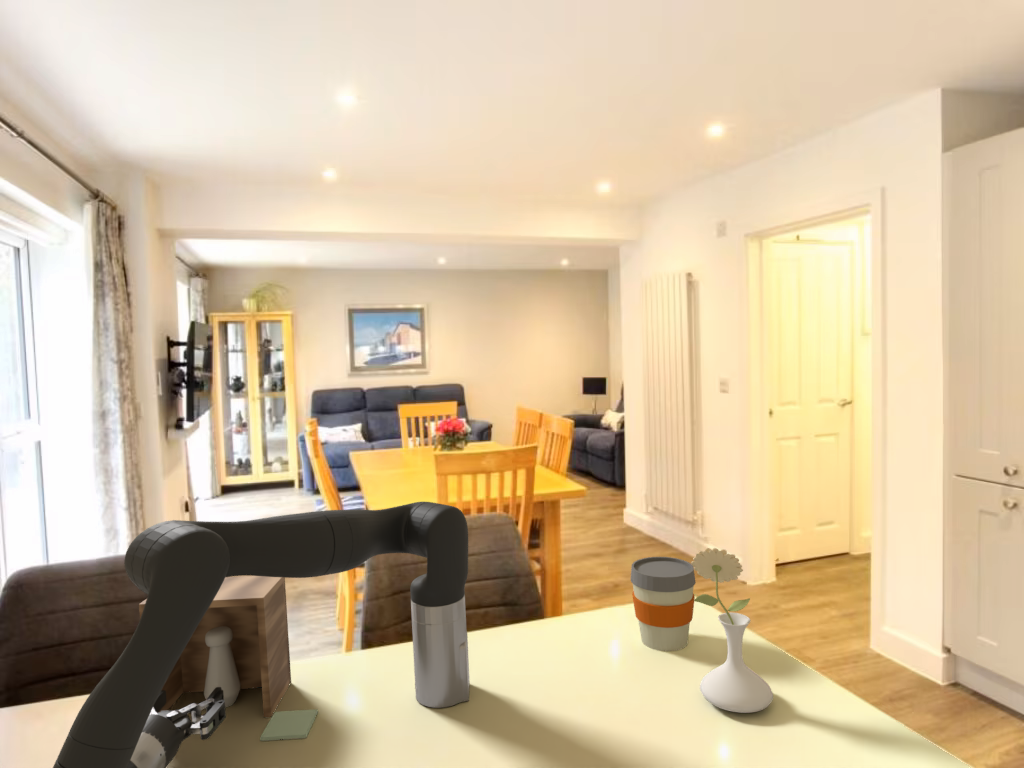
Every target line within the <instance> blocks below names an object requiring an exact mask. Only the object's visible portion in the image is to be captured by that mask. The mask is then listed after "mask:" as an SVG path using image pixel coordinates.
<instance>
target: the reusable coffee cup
mask: <svg viewBox="0 0 1024 768" xmlns="http://www.w3.org/2000/svg"><path fill="white" fill-rule="evenodd" d="M630 568H631V569H630V581H631V583H632V587H633V590H632V593H631V596H632V601H633V607H634V614H635V617H636V619H637V620H638V626H639V632H640V638H641V642H642V644H643V645H645V646H646V647H647V648H650V649H652V650H655V651H661V652H672V651H673V652H676V651H678V650H682V649H684V648H685V647H687V646H688V643H689V642H688V641H689V632H690V623H691V622H692V621H693V617H694V606H695V601H694V600H695V599H696V597H695V594H694V586H695V585H696V577H695V576H696V575H695V574H696V573H695V570H694V566H693V565H692V564H691V563H690V562H689V561H687V560H684V559H680V558H677V557H671V556H670V557H669V556H650V557H649V556H648V557H644V558H640V559H637V560H635V561H633V562H632V564H631V567H630Z"/></svg>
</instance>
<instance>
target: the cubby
mask: <svg viewBox="0 0 1024 768" xmlns="http://www.w3.org/2000/svg"><path fill="white" fill-rule="evenodd" d="M286 593H287V592H286V578H284V577H266V576H232V577H225V579H224V581H223V583H222V585H221V587H220V589H219V591H218V593H217V594H216V596H215V598H214V600H213V601H212V603H211V605H210V606H209V608H208V610H207V611H206V613H205V614H204V616H203V618H202V619H201V621H200V623H199V624H198V626H197V628H196V630H195V631H194V633H193V635H192V637H191V638H190V640H189V642H188V643H187V645H186V647H185V649H184V650H183V652H182V654H181V656H180V657H179V659H178V661H177V663H176V664H175V666H174V668H173V670H172V671H171V673H170V675H169V677H168V679H167V681H166V682H165V684H164V686H163V688H162V690H165V691H166V704H165V705H164V706H163V707H162V708H161V710H160V711H159V712H161V711H165V710H168V711H169V710H170V709H171V707H172V706H173V705H174V704H175V703H176V701H178V699H179V698H180V697H181V696H182V695H183V694H185V693H196V692H197V693H199V692H200V693H201V692H204V688H205V681H206V674H207V667H208V660H209V652H210V647H208V646H207V645H206V643H205V635H206V633H207V632H208V631H209V630H211V629H213V628H216V627H220V626H226V627H229V628H230V629H231V630H232V633H233V638H232V640H231V642H230V646H231V650H232V654H233V657H234V661H235V665H236V669H237V672H238V676H239V680H240V684H241V687H240V690H249V689H248V688H252V689H258V688H257V687H262V688H261V692H262V694H261V695H262V709H263V710H262V711H263V718H264V717H267V718H272V717H271V716H273V715H272V714H274V713H275V712H276V710H277V708H278V706H279V705H280V703H281V701H282V700H281V698H282V697H283V698H284V696H285V695H286V693H287V691H288V689H289V688H288V687H290V686H289V684H290V683H291V684H292V673H291V670H292V669H291V658H290V643H289V641H290V640H289V639H290V638H289V626H288V625H289V623H288V609H287V594H286ZM146 600H147V598H146V599H144V600H142V602H140V603H138V610H139V611H138V613H139V619H140V618H141V615H142V612H143V609H144V606H145V603H146ZM291 684H290V685H291ZM287 688H288V689H287ZM286 690H287V691H286ZM285 692H286V693H285ZM283 695H284V696H283ZM283 698H282V699H283ZM280 700H281V701H280ZM279 702H280V703H279ZM278 704H279V705H278ZM277 705H278V706H277ZM276 707H277V708H276ZM275 709H276V710H275ZM274 711H275V712H274ZM273 712H274V713H273Z"/></svg>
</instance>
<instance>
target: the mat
mask: <svg viewBox="0 0 1024 768" xmlns="http://www.w3.org/2000/svg"><path fill="white" fill-rule="evenodd" d="M318 711H319V710H318V708H317V709H314V708H313V709H302V710H301V709H300V710H299V709H298V710H283V711H282V710H281V711H275V712H274V713H273V715H272V717H270V720H269V721H268V723H267V725H266V726H265V728H264V730H263V732H262V734H261V735H260V740H259V741H260V742H265V741H277V740H278V741H280V739H281V740H282V739H283V740H295V739H296V740H298V739H306V738H307V737H308V735H309V733H310V730H311V728H312V726H313V724H314V722H315V720H316V718H315V717H317V716H316V715H318V714H319V712H318Z"/></svg>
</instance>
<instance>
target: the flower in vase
mask: <svg viewBox="0 0 1024 768" xmlns="http://www.w3.org/2000/svg"><path fill="white" fill-rule="evenodd" d="M690 564H692V565H693V567H694V572H697V575H699V576H701V577H702V578H703V579H706V580H709V579H710V581H711V582H713V583H715V595H716V597H714V596H712V595H709V594H707V593H705V594H704V593H702V594H700V595H697V597H695V599H694V602H697V603H700V604H704V605H706V606H710V607H713V606H715V605H717V604H718V603H719V604H720V606H721V607H722V608H723V610H724V611H725V612H723V613H720V614H719V615H718V617H717V618H718V621H719V622H720V624H721V625H722V627H723V629H724V632H725V636H726V643H727V645H726V646H727V656H726V659H725V662H723V663H722V664H721V665H719V666H717V667H715V668H714V669H712V670H710V671H709V672H707V674H705V675H704V676H703V677H702V679H701V681H700V684H699V691H700V693H701V694H702V696H703V698H704V699H705V700H706V701H707V702H708V703H710V704H711V705H713V706H715V707H716V708H719V709H722V710H723V711H724V710H725V711H730V712H731V713H732V712H733V713H742V714H743V713H744V714H747V713H748V714H749V713H750V714H751V713H756V712H760V711H762V710H765V709H766V708H768V707H769V705H770V704H771V703H772V702H773V700H774V693H773V690H772V688H771V686H770V685H769V683H768V682H766V680H765V679H764V678H762V677H761V676H760V675H759V674H758V673H756V672H755V671H754V670H752V668H750V667H748V665H747V664H745V662H744V661H745V660H744V658H743V641H744V634H745V631H746V629H747V627H748V625H749V624H750V623H751V622H752V621H751V618H750V617H748V616H747V615H745V614H743V613H740V612H739V611H741V610H743V609H744V608H746V606H748V604H749V602H750V600H751V597H749V598H746V599H738V600H735V601H733V602H732V603H731V604H730V606H729V607H728V608H726V607H725V605H724V604H723V602H722V600H721V599H720V596H719V585H718V584H719V583H724V582H727V583H728V582H731V581H733V580H734V581H737V580H738V579H739V576H741V573H742V572H743V571H744V569H743V565H742V564H741V563H740V559H739V558H738V557H736V555H735V554H733V553H728V552H727V550H726V549H720V550H719V548H716V547H714V548H712V549H711V548H710V547H705V549H704V550H699V551H698V552H697V553H695V556H694V557H693V558H692V561H691V563H690ZM738 612H739V613H738Z"/></svg>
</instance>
